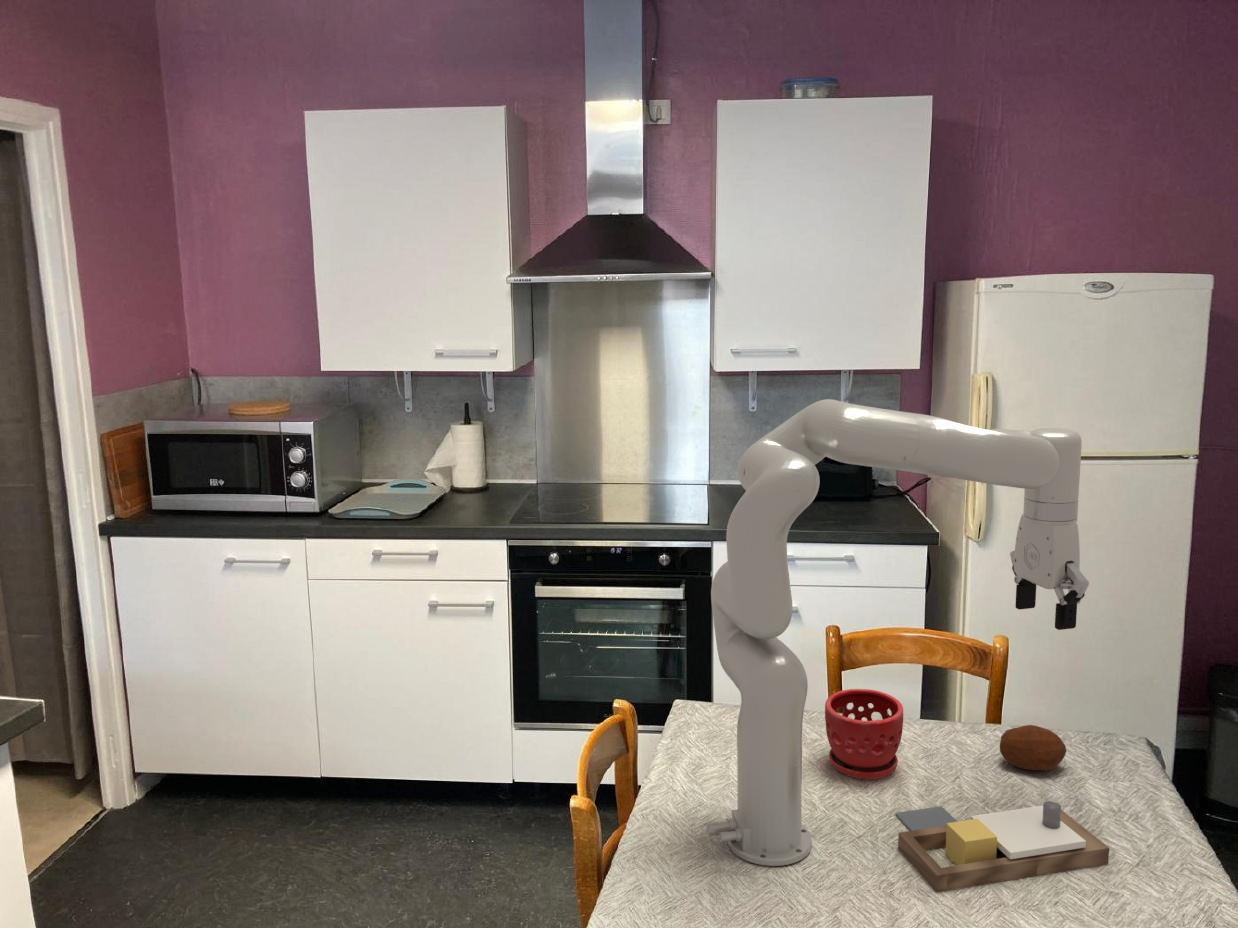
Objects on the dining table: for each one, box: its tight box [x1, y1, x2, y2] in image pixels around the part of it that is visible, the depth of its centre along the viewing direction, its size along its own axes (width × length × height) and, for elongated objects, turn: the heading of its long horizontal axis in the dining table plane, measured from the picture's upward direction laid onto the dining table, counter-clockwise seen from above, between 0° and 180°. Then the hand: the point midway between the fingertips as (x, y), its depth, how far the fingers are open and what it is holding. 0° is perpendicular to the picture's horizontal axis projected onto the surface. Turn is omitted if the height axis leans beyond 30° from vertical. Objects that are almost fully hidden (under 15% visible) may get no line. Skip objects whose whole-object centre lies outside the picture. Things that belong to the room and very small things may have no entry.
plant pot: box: [824, 688, 904, 780], centre depth 168 cm, size 13×13×12 cm
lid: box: [970, 800, 1086, 859], centre depth 142 cm, size 12×10×4 cm
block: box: [944, 819, 998, 865], centre depth 140 cm, size 5×5×5 cm
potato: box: [999, 724, 1067, 771], centre depth 167 cm, size 8×11×8 cm
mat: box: [894, 805, 958, 831], centre depth 150 cm, size 8×8×1 cm
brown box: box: [897, 809, 1110, 893], centre depth 142 cm, size 27×11×2 cm, turn 102°
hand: (1044, 617), depth 150 cm, fingers open, 9 cm apart
